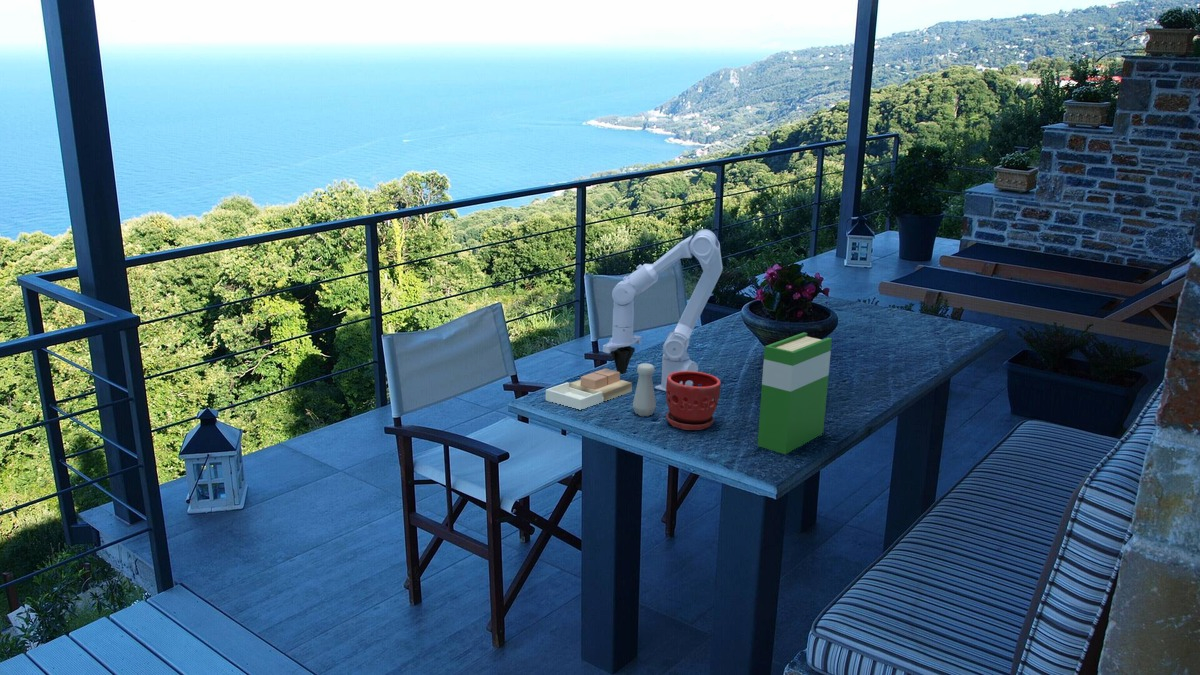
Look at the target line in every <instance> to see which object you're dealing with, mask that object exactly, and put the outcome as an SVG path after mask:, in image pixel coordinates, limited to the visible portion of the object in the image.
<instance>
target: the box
mask: <svg viewBox="0 0 1200 675" xmlns="http://www.w3.org/2000/svg"><path fill="white" fill-rule="evenodd" d="M569 383H570V382H564V383H562V384H558V385H555V386H552V387H549V388H547V389H545V401H546V402H550V403H552V402H553V403H552V404H555V403H557V404H556V405H559V404H561V405H560V406H562V405H564V406H563V407H565V406H568V407H572V408H576V409H579V410H581V409H585V408H587V407H590V406H593V405H596V404H598V405H600V404H599V403H601V402H603V401H604V397H602V392H598V393H595V394H591V393H588V392H584V391H581V390H577V389H574V388H570V387H569ZM603 403H604V402H603ZM601 404H602V403H601ZM596 406H597V405H596ZM568 407H567V408H568ZM593 407H594V406H593ZM572 408H571V409H572ZM590 408H591V407H590ZM585 410H586V409H585Z"/></svg>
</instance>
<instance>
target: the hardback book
mask: <svg viewBox="0 0 1200 675" xmlns="http://www.w3.org/2000/svg"><path fill="white" fill-rule="evenodd" d="M832 340H833V338H832V337H826V338H823V339H820V338H817V337H811V336H808V332H801V333H798V334H796V335H793V336H790V337H788V338H785V339H781V340H779V341H776V342H773V343H770V344H768V345H764V350H763V352H764V353H763V366H762V377H761V378H762V379H761V393H760V394H761V395H760V407H759V419H758V421H759V422H758V434H757V447H760V448H764V449H766V450H769V451H774V452H777V453H779V454H781V455H782V454H783V455H788V454H789V453H790V452H793V451H795V450H797V449H799V448H800V447H802V446H804V445H806V444H808V443H810V442H811V441H810V440H812V439H814V438H816V437H817V436H819V435H821V434H822V433H823V434H824V431H825V430H824V428H825V418H826V417H825V416H826V408H827V396H828V395H827V394H828V385H829V376H830V374H829V373H830V363H831V354H832V353H831V352H832V344H833V342H832ZM821 436H822V435H821ZM819 437H820V436H819ZM817 438H818V437H817ZM817 438H816V439H817ZM814 440H815V439H814ZM809 441H810V442H809ZM812 441H813V440H812ZM807 442H808V443H807ZM805 443H806V444H805ZM803 444H804V445H803ZM798 447H799V448H798ZM796 448H797V449H796ZM794 449H795V450H794ZM792 450H793V451H792Z"/></svg>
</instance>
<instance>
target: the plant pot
mask: <svg viewBox="0 0 1200 675" xmlns="http://www.w3.org/2000/svg"><path fill="white" fill-rule="evenodd" d="M688 380H691V381H692V382H693V386H687V385H685V383H686V381H688ZM681 381H682V382H683V383H682V384H680V382H681ZM699 385H701V386H699ZM721 385H722V381H721V380H720V378H718V377H716V376H714V375H712V374H710V373H706V372H700V371H698V372H695V371H680V372H674V373H671V374H669V375H668V377H667V384H666V391H665V396H666V404H667V407H668V410H669V411H668V412H667V413H666V415H665V416H666V417H665V418H666V420H667V421H668V423H669V424H670V425H671V426H673V427H675V428H677V429H681V430H686V431H698V430H700V431H701V430H704V429H708V428H709V427H711V426H712V425H713V423H714V421H715V418H714V417H713V415H714V413H715V412H716V410H717V407H718V403H719V399H720V394H721V388H722V387H721Z"/></svg>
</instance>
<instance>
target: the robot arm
mask: <svg viewBox="0 0 1200 675" xmlns="http://www.w3.org/2000/svg"><path fill="white" fill-rule="evenodd" d="M720 244H721V243H720V241H719V240H718V237H717V235H716V234H715V233H714V232H713V231H712V230H710V229H700V230H698V231H697V232H695V234H692V235H690V236H688V237H687V238H685V239H683V240H682V241H680V242H678V243H677V244H676V245H675V246H673V247H672V248H671V249H670V250H668V251H667V252H666V253H665V254H663V255H662V256H661V257H660V258H658V259H657V260H656V261H654V262H653V263H644V264H643V265H642V264H639V265H637V266H636V267H635V268H636V270H634V271H633V272H632V273H631V274H629V275H628V276H627V275H625V276H624V277H623V278H622V280H621V281H619V282H617V284H616V285H615V286H614V287H613V289H612V291H611V297H612V300H613V308H612V329H611V331H612V332H611V334H612V336H611V338H609V340H608V341H609V342H608V341H607V343H605V344H603V345H602V353H605V354H611V356H612V358H613V361H614V364H615V368H616V371H618V372H620V375H624V374H626V373H627V370H628V368H629V364H630V361H631V358H632V356H633V354H634V353H635V350H636V348H635V347H632V346H633V345H636V344H639V345H640V344H642V336H640V335H635V334H634V323H635V321H634V319H635V308H634V305H635V304H634V303H635V302H634V301H635V300H634V298H635V296H637V295H640V294H642V293H643V292H644V291H646V290H647V289H649V288H650V287H651V286H652V285H654V284H655V283H657V282H658V280H659V275H660V274H661V273H662V272H663V271H665V270H667V269H668V268H670V267H671V266H672V265H674V264H675V263H676V262H678V261H679V260H681V259H692V258H693V256H694V257H695V258H696V260H698V262H699V264H700V266H701V269H702V273H701V276H700V277H699V278H698V279H699V280H698V282H697V283H696V286H695V288H694V290H693V292H692V294H691V296H690V298H689V300H688V302H687V303H686V306H685V308H684V311H683V312H682V314H681V317H680V318H679V320H678V322H677V324H676V326H675V328H674V329H673V330H671V331H670V332H669V333H668V334H667V337H666V340H665V342H663V345H662V353H663V354H662V358H661V360H662V361H661V363H662V365H661V384H658V385H655V386H654V390H655V389H656V390H660V391H662V392H663V391H664V392H666V384H667V377H668V375H669V374H671V373H674V372H680V371H695V372H699V366H698V363H697V362H695V361H693V360H691V359H690V354H689V353H688V351H687V350H688V348H689V346H690V342H691V341H690V340H691V339H690V337H691V335H692V333H693V331H694V328H695V326H696V325H697V322H698V320H699V318H700V317H701V315H702V313H703V310H704V308H705V307H706V305H707V303H708V300H709V299H710V297H711V294H712V293H713V291H714V289H715V288H716V284H717V283H718V281H719V278H720V276H721V275H722V272H723V269H724V266H723V260H722V255H721V245H720ZM682 383H683V382H682V381H681V382H680V384H682ZM685 385H687V386H693V382H692V381H691V380H688V381H686V383H685Z"/></svg>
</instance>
